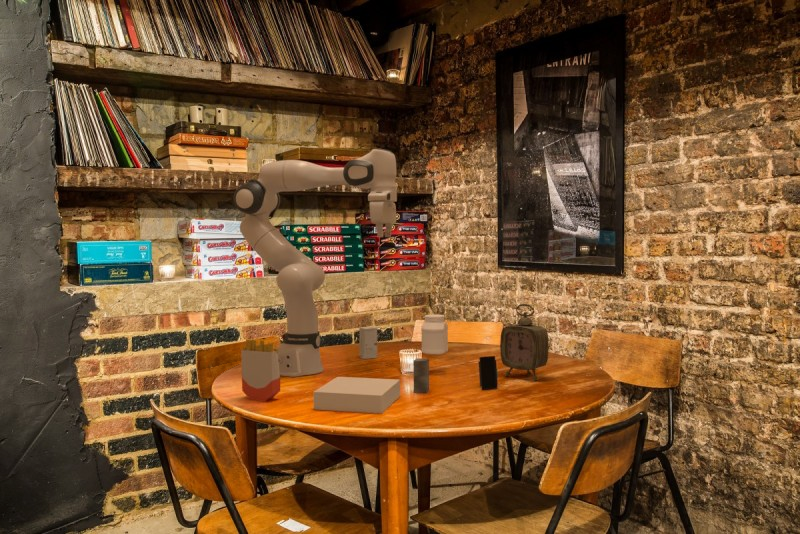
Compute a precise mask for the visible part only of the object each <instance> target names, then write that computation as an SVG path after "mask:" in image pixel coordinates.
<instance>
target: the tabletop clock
mask: <svg viewBox="0 0 800 534" xmlns="http://www.w3.org/2000/svg"><path fill="white" fill-rule="evenodd" d="M520 307H528V308H530V309H531V311H532V313H530V314H527V312H526V311H525V312H523V313H520V312H519V311H518V309H519V308H520ZM515 310H516V314H517V315H519V316H521V317H520V318H518V320H517V322H516V323H517V324H514V325H508V326H504V327H502V330H501V332H500V333H501V335H500V340H499V341H500V343H499V344H500V345H499V348H500V358H501V362H502V363H501V364H503V366H505V367H507V368H509V370H508V371H506V372H505V376H506V377H510V376H511V371H513V370H519V371H527V372H526V376H527V377H531V375H532V374H533V377H532V380H533V381H534V382H536V381H538V376H537V375H536V369H538V368H541V367H545V366H547V363H548V360H549V348H550V346H549V344H550V343H549V334H548V331H547V329H546V328H545V327H543V326H541V325H537V324H533V320H532V319H531V318H530V317H532V316H533V315H534V313H535V309H534V307H533V306H532V305H530V304H529V303H520V304H519V305H517V306H516V308H515ZM531 371H532V372H531Z"/></svg>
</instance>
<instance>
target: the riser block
mask: <svg viewBox="0 0 800 534" xmlns="http://www.w3.org/2000/svg"><path fill="white" fill-rule="evenodd" d="M312 392H313V394H312V397H313V410H317V411H318V410H321V411H336V412H352V413H368V414H383V413H384V412H385V411H386V410H387V409H388V408H389V407H390V406H391V405H392V404H394V403H395V402H396V401H397V400H398V399H399V398H400V397H401V379H393V378H392V379H391V378H372V377H371V378H370V377H349V376H337V377H335V378H334V379H331V380H330V381H329V382H327V383H325V384H324V385H322V386H320V387H318V388H317V389H316V390H314V391H312Z"/></svg>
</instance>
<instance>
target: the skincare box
mask: <svg viewBox="0 0 800 534" xmlns="http://www.w3.org/2000/svg"><path fill="white" fill-rule="evenodd" d="M358 329H359V335H358V336H359V359H363V360H368V359H377V358H378V327H376V326H364V327H361V326H360V327H359V328H358Z"/></svg>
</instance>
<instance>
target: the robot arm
mask: <svg viewBox="0 0 800 534" xmlns="http://www.w3.org/2000/svg"><path fill="white" fill-rule="evenodd" d="M396 177H397V161H396V156H395V154H394V153H393V152H392V151H391V150H388V149H384V148H373V149H372V150H370V152H368V153H366V154H365V155H363V156H360V157H358V158H355V159H351V160H349V161H348V162H347V163H346V164H345V165H344V167H328V166H323V165H319V164H316V163H313V162H309V161H305V160H299V159H286V160H275V161H271V162H267V163H264V164H262V166H261V167H260V168H259V172H258V179H255V178H252V179H250V180H249V181H247V182H246V183H244V184H242V185H241V186H239V187H238V188H236V190H235V191H234V194H233V204H234V206H235V208H236V209H237V210H239V212H241V213H243V214H245V216H244V217H243V219H242V220H241V222H240V224H239V231H240V233H241V235H242V236H243V238H244V239H245V241H246V242H247V244H248V245H249V246H250V247H251V248H252V249H253V251H255V253H256V254H257V255H258V256H259V257H260V258H261V259H262V260H263V261H264V262H265V263H266V265H268V266H269V267H270V268H272V269H274V270H276V271H277V272H278V274H277V276H276V284H277V288H278V289H279V290H280V291H281V294H282V297H283V302H284V304H285V310H286V327H287V328H286V332H285V333H283V334H282V335H281V336H280V340H282V343H281V344H279V345H278V346H277V347H276V348H275V349H278V360H279V371H280V377H281V376H284V377H291V378H293V377H295V378H296V377H300V376H306V375H307V376H308V375H316V374H320V373H322V372H324V367H323V363H322V359H321V353H320V347H321V346H320V345H321V336H320V331H319V310H318V307H317V306H316V304H315V300H314V297H313V296H314V295H313V292H315V291H316V290H318V289H319V288H320V287H321V286H322V285H323V284H324V281H325V278H326V277H325V276H326V275H325V271H324V269H323V268H322V267H321V265H320V264H317V263H316V262H314V261H313V260H312V259H310V258H309V257H308V256H306V254H304V253H303V252H301V251H300V250H299V249H298V248H296V247H295V246H294V245H293V244H292V243H291V242H289V241H288V240H287V238H286V237H285V236H284V235H283V234H282V233H281V232H280V231H279V230H278V229H277V228H276V226H274V224H272V223H271V221H270V220H271V219H273V218H274V217H275V214H276V212H277V211H278V209H279V207H280V204H281V196H280V194H279V193H282V192H299V191H305V190H311V189H317V188H322V187H326V186H351V187H353V188H360V189H363V190H365V191H370V192H369V193H368V195H367V201H368V202H369V217H370V221H371V223H372V224H375V228H376V232H377V234H376V237H377V238H384V237H385V238H391V236H392V229H393V225H395V224H396V223H397V207H396V203H395V202H397V201H398V193H397V192H398V191H397V188H398V187H397V184H396V179H397V178H396ZM384 224H385V231H384V229H383V227H384ZM273 351H274V349H273Z"/></svg>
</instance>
